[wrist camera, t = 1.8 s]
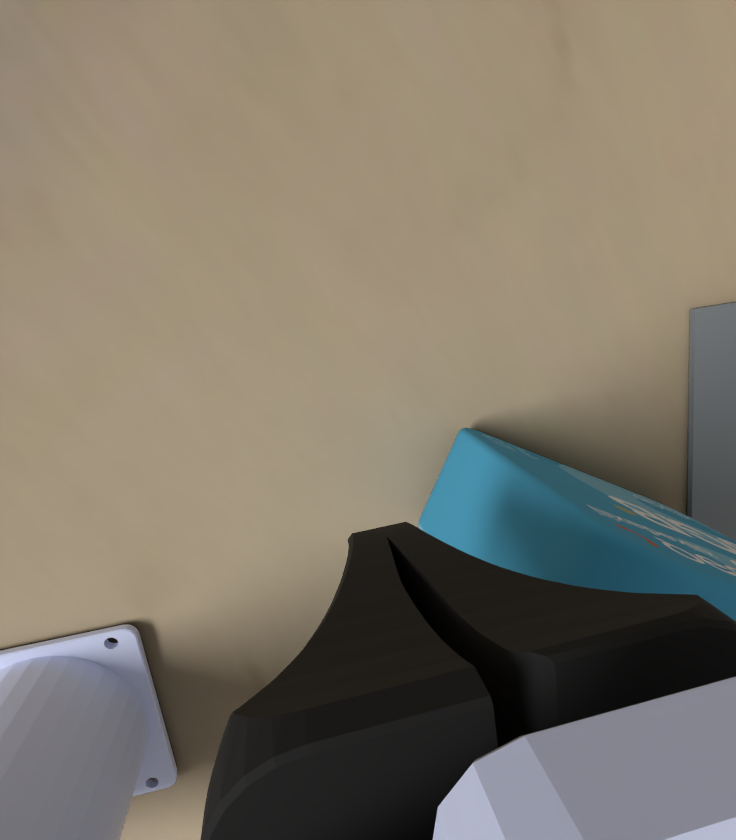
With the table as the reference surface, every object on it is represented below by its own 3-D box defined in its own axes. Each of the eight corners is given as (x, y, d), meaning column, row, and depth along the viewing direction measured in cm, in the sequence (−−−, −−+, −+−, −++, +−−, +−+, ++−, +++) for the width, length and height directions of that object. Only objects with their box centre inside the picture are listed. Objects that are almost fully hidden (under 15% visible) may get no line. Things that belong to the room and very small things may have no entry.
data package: (673, 507, 25) (1010, 686, 14) (629, 590, 26) (915, 829, 14) (450, 419, 22) (637, 550, 11) (407, 515, 23) (540, 736, 11)
